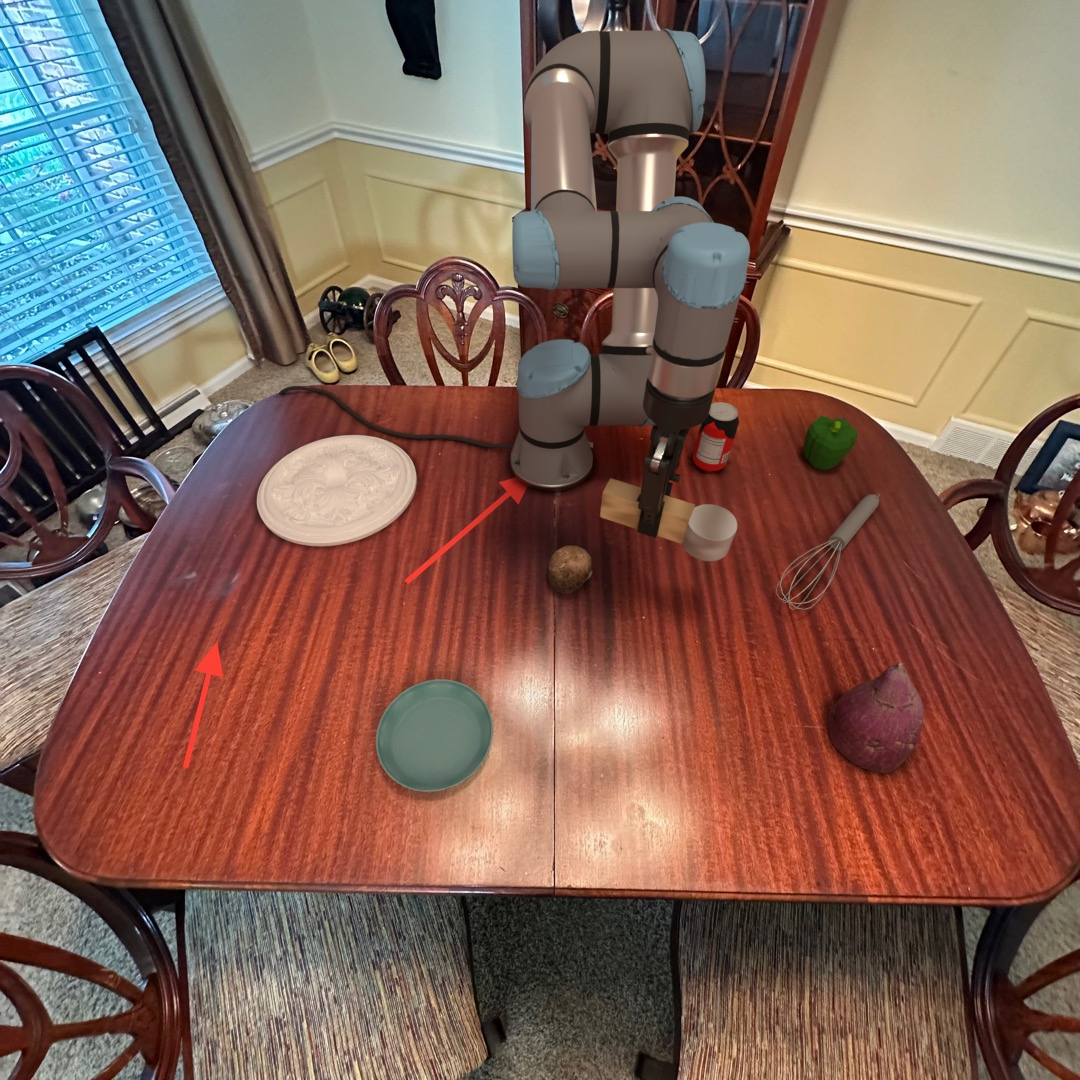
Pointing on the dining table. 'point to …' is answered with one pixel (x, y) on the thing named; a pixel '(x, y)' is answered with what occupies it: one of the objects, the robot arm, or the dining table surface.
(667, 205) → the robot arm
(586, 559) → the mushroom
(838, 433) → the bell pepper
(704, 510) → the scoop
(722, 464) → the beverage can
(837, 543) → the kitchen whisk
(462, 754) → the saucer
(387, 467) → the ceiling medallion
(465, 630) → the dining table surface
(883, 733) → the vegetable
